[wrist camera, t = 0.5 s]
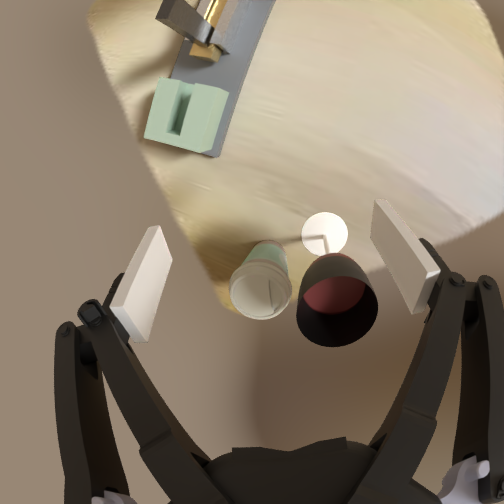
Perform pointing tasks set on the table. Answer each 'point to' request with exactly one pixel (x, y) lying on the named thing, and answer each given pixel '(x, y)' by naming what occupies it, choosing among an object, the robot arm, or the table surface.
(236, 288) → the coffee cup
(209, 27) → the sliding bolt with handle
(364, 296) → the wineglass
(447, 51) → the table surface
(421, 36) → the table surface
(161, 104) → the socket block
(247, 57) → the base board
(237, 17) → the steel sleeve
